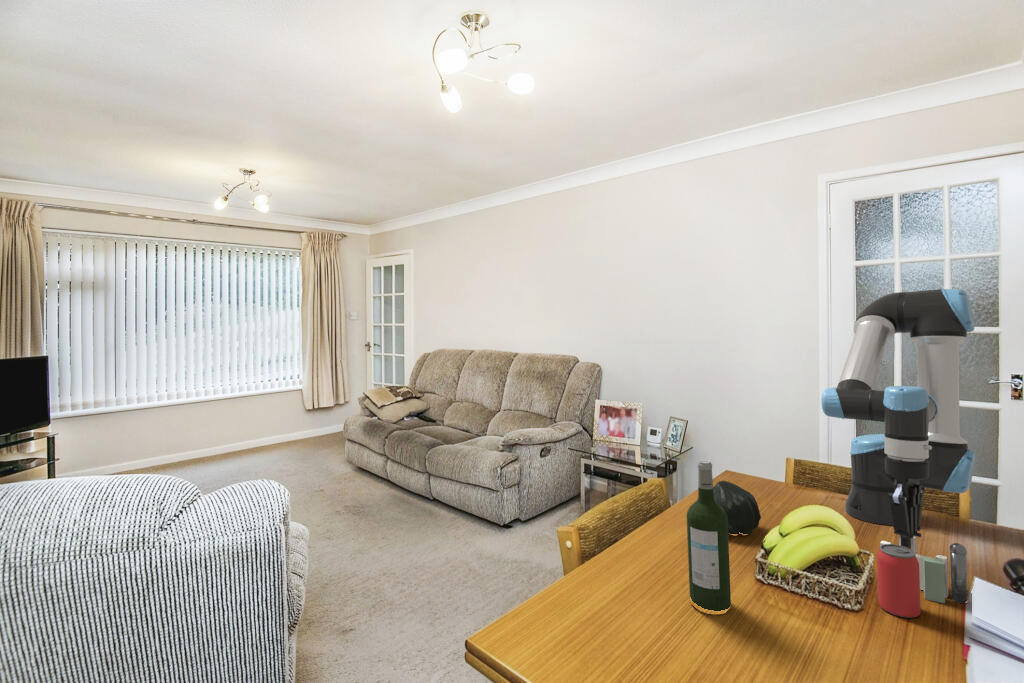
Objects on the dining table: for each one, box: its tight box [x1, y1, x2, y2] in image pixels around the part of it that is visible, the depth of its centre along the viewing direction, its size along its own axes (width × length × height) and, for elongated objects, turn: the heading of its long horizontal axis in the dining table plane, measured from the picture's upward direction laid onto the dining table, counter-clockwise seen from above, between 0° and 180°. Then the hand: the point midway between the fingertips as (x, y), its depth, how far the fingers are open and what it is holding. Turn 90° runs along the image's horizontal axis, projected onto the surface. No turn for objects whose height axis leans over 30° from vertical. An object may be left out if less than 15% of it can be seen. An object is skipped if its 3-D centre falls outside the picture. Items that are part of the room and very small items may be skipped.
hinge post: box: [949, 542, 968, 605], centre depth 98 cm, size 3×3×12 cm
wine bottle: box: [686, 459, 732, 611], centre depth 100 cm, size 8×8×30 cm
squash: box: [713, 480, 762, 535], centre depth 135 cm, size 14×15×15 cm
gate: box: [879, 540, 949, 599], centre depth 104 cm, size 11×2×8 cm, turn 39°
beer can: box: [876, 543, 922, 619], centre depth 96 cm, size 7×7×12 cm
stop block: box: [923, 556, 946, 604], centre depth 99 cm, size 2×3×8 cm, turn 54°
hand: (908, 565), depth 106 cm, fingers closed
